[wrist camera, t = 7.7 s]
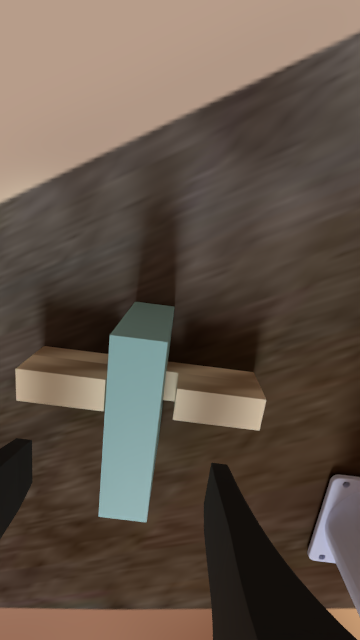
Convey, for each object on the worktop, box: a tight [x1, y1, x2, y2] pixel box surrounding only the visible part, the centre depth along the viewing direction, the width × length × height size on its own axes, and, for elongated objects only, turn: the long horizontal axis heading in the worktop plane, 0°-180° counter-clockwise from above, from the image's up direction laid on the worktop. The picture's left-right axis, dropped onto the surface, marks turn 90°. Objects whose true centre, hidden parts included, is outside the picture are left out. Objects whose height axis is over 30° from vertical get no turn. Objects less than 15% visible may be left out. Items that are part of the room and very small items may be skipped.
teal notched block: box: [99, 302, 175, 522], centre depth 18 cm, size 2×10×6 cm, turn 173°
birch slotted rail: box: [16, 346, 266, 430], centre depth 19 cm, size 14×2×4 cm, turn 83°
